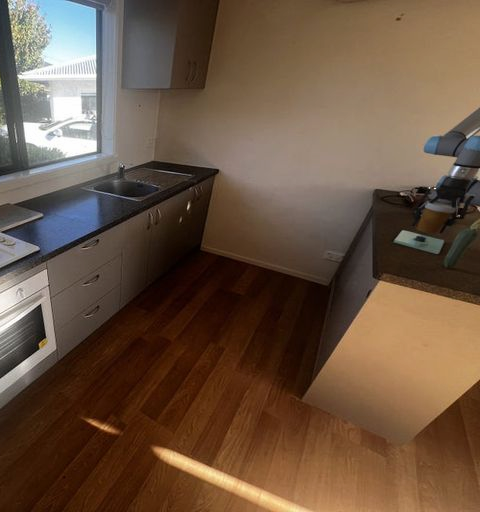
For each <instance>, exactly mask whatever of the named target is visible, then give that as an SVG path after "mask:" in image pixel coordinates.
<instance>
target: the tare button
mask: <svg viewBox="0 0 480 512" xmlns="http://www.w3.org/2000/svg"><path fill="white" fill-rule="evenodd" d="M415 240H416V241H419V242H425V240H426V238H425V237H422V236H417V237H416V238H415Z"/></svg>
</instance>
